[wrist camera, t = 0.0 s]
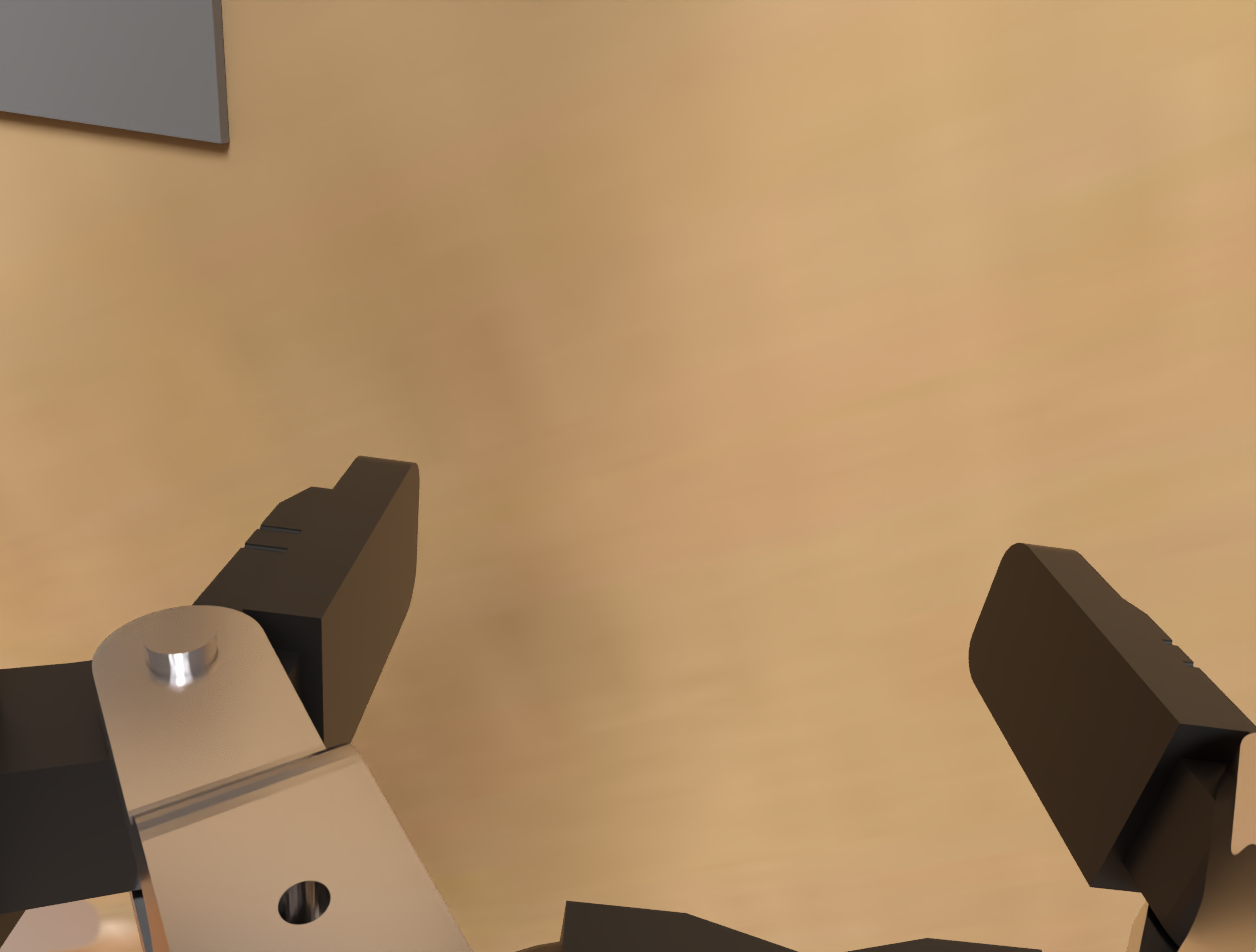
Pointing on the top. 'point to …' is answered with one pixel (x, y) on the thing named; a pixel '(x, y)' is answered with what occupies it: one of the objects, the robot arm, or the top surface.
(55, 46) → the rubber mat
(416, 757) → the top surface
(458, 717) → the top surface
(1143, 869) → the robot arm
